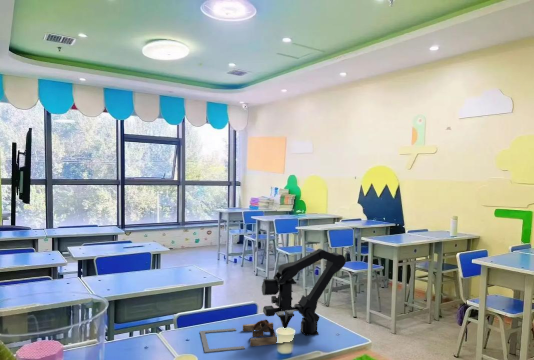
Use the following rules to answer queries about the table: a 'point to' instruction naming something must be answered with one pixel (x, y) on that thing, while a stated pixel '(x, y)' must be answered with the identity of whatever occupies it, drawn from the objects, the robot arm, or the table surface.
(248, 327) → the holder
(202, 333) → the bay
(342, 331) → the table surface
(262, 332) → the brown curved piece
